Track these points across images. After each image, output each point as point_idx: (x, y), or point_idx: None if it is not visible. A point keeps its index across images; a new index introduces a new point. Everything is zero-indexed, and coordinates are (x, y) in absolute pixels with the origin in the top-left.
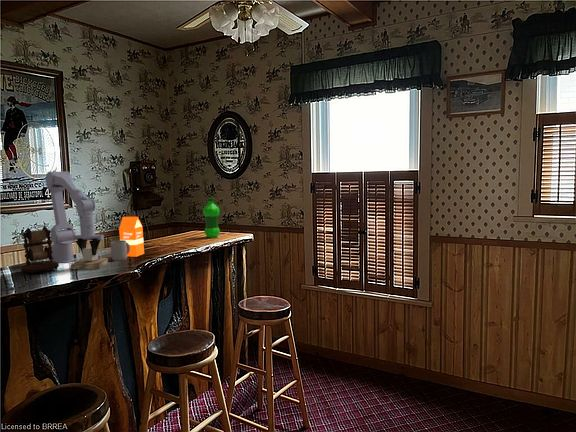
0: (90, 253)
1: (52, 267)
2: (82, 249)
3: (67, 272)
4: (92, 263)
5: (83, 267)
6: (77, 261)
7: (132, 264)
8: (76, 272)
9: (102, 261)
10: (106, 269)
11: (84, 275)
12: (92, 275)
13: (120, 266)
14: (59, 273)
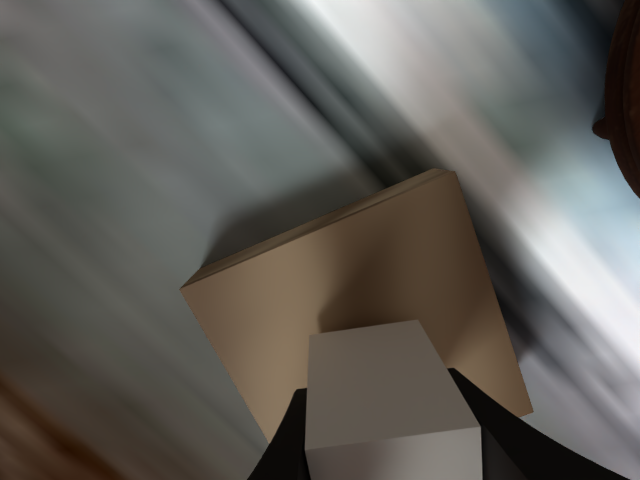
0: (325, 390)
1: (627, 42)
2: (474, 419)
3: (409, 77)
4: (250, 272)
5: (330, 217)
6: (497, 318)
7: (49, 448)
8: (313, 99)
9: (231, 375)
10: (117, 264)
11: (122, 3)
12: (39, 24)
13: (88, 377)
14: (466, 18)
